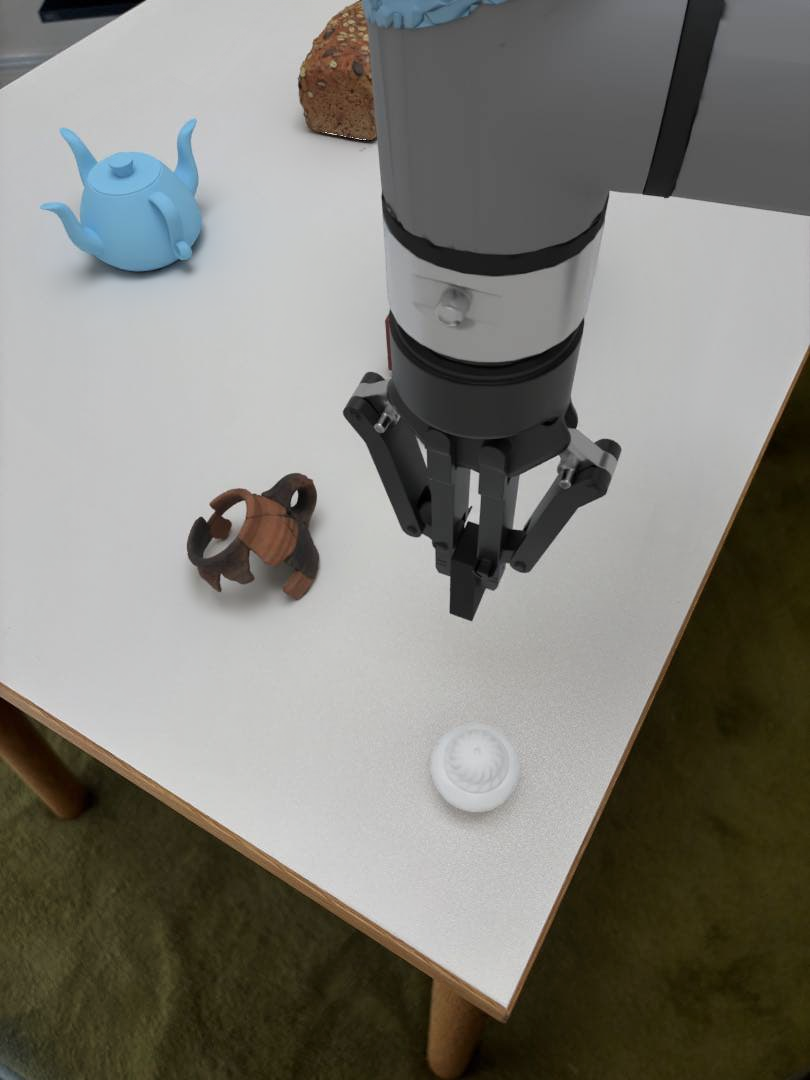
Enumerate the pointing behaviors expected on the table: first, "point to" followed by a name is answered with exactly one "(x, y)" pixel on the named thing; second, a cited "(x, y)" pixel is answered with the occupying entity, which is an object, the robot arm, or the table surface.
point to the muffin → (475, 767)
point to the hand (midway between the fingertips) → (468, 599)
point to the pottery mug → (260, 535)
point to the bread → (340, 78)
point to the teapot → (134, 206)
